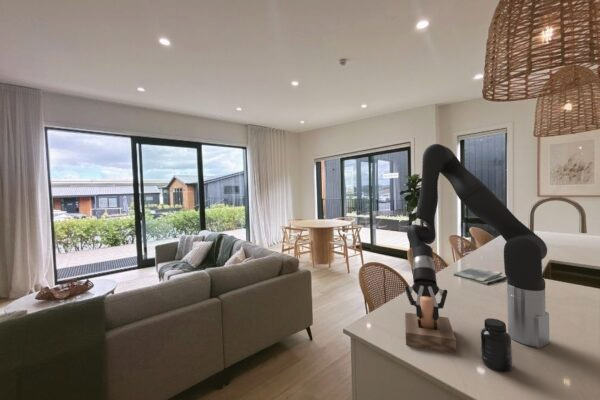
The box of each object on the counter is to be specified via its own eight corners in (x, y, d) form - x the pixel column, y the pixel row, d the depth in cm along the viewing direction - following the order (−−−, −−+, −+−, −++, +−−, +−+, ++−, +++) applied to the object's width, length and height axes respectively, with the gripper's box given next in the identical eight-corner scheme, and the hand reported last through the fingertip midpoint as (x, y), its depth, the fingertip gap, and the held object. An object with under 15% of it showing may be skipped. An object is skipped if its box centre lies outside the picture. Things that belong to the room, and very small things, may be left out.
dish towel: (452, 276, 145) (452, 270, 145) (472, 270, 153) (472, 265, 153) (488, 286, 128) (488, 280, 128) (509, 279, 136) (509, 273, 136)
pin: (436, 329, 87) (436, 299, 87) (428, 332, 86) (427, 302, 85) (426, 323, 91) (425, 295, 91) (418, 326, 89) (417, 297, 89)
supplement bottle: (498, 355, 77) (497, 315, 76) (518, 372, 70) (518, 327, 70) (475, 357, 77) (474, 317, 76) (493, 373, 70) (492, 329, 69)
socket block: (448, 328, 92) (448, 317, 92) (456, 352, 79) (455, 339, 79) (405, 323, 98) (405, 312, 97) (406, 344, 84) (405, 332, 84)
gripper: (403, 264, 97) (404, 312, 86) (446, 267, 92) (454, 317, 81) (403, 274, 102) (404, 320, 92) (444, 277, 97) (451, 326, 86)
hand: (427, 318), depth 86 cm, fingers closed on pin, 4 cm apart
